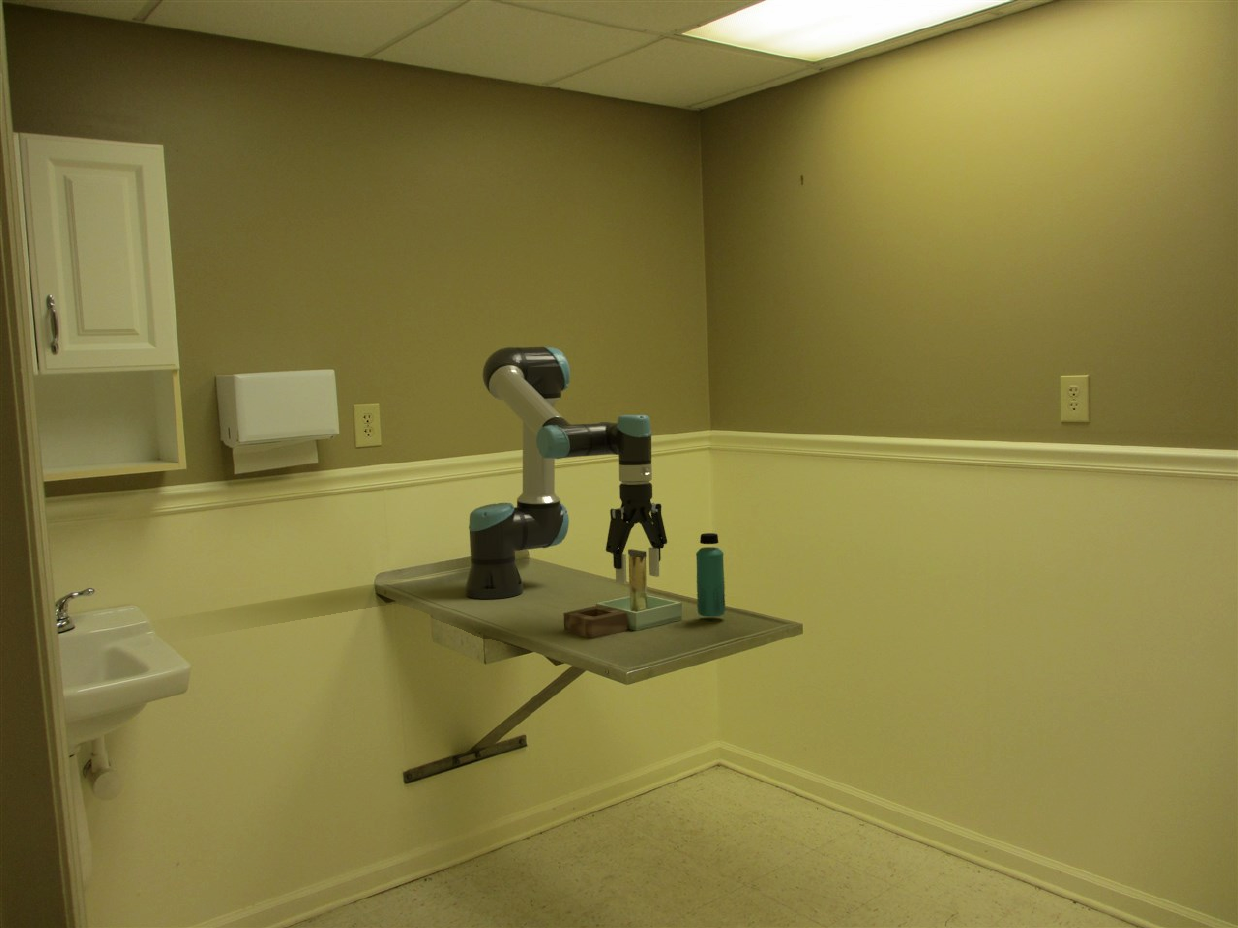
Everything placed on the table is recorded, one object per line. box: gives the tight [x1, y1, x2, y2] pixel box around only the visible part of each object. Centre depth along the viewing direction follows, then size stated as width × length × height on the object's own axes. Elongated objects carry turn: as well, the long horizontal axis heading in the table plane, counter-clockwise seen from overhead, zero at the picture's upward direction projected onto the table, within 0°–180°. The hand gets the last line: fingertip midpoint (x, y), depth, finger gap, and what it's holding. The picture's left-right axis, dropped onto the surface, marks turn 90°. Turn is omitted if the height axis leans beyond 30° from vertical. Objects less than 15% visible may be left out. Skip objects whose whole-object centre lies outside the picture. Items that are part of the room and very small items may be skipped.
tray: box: [595, 594, 683, 632], centre depth 230 cm, size 14×14×4 cm
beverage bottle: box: [695, 532, 727, 618], centre depth 228 cm, size 6×7×20 cm
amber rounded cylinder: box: [627, 548, 648, 612], centre depth 230 cm, size 5×4×15 cm
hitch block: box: [563, 605, 628, 639], centre depth 222 cm, size 10×10×4 cm
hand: (637, 579), depth 229 cm, fingers open, 9 cm apart
